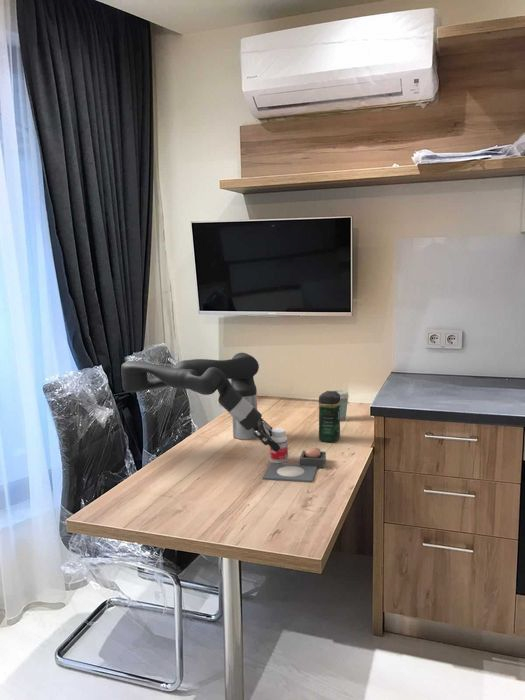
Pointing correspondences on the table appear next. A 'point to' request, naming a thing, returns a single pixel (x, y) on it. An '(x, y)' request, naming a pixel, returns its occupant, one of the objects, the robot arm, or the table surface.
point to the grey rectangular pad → (290, 472)
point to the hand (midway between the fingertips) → (278, 445)
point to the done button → (312, 452)
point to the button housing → (313, 460)
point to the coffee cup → (343, 404)
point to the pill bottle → (281, 440)
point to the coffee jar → (329, 416)
